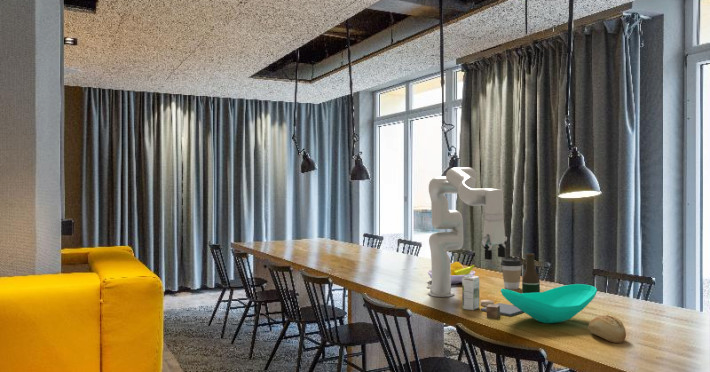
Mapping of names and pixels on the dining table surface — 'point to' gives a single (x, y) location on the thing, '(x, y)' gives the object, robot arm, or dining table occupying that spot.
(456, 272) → the fruit bowl
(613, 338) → the bread roll
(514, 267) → the coffee cup
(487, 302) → the cork disc
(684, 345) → the dining table surface
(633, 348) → the dining table surface
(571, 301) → the table top decor
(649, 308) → the dining table surface
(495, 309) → the walnut cube
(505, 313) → the felt pad
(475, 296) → the syrup box
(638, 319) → the dining table surface
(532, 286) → the beer bottle
